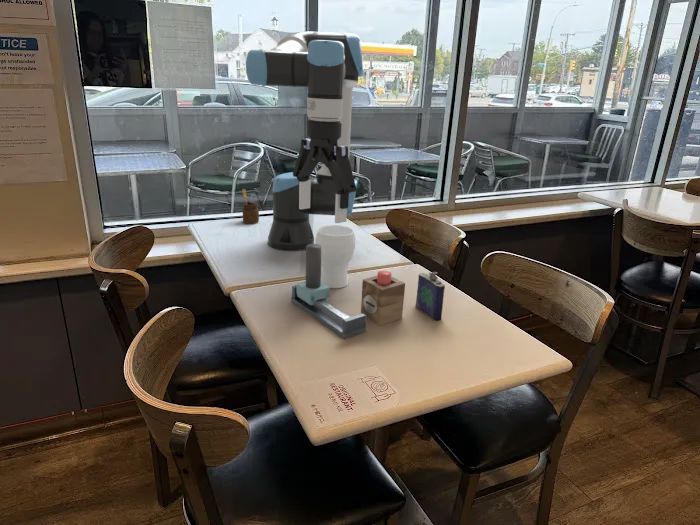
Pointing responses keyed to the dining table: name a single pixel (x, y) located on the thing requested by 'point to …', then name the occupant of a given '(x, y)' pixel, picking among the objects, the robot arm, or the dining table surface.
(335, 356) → the dining table surface
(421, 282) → the flask
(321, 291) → the carriage
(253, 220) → the utensil holder
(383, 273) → the button
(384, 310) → the open wooden box
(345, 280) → the cup
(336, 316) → the rail track
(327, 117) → the robot arm
